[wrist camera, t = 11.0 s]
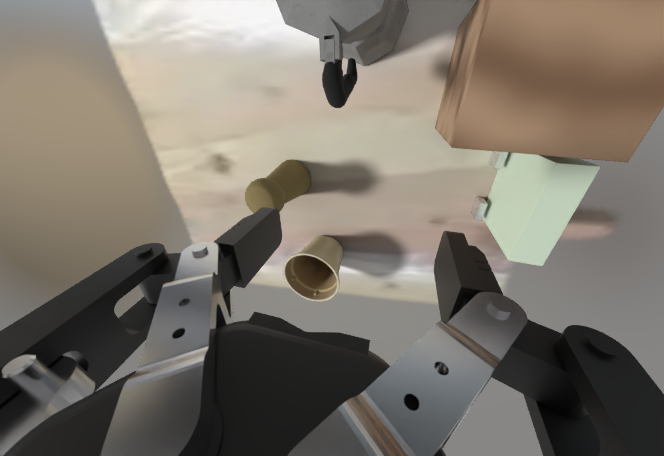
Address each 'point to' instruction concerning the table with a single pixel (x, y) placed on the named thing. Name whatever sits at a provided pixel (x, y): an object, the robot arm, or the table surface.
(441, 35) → the table surface
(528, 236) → the door panel
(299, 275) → the flower pot
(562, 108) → the brown wooden box
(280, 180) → the cork
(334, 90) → the coffeepot
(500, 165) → the small rectangular blocks
